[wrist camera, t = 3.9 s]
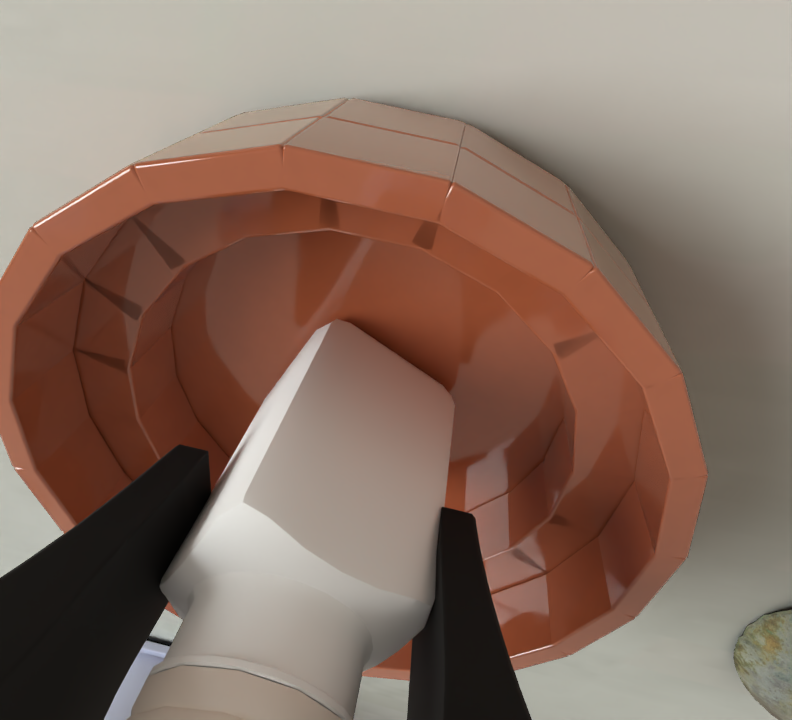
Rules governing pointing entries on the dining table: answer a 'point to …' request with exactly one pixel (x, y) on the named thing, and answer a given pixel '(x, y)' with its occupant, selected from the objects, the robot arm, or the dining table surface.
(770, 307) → the dining table surface
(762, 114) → the dining table surface
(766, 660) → the soupspoon
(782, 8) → the dining table surface
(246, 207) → the clay bowl
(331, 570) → the pepper shaker
